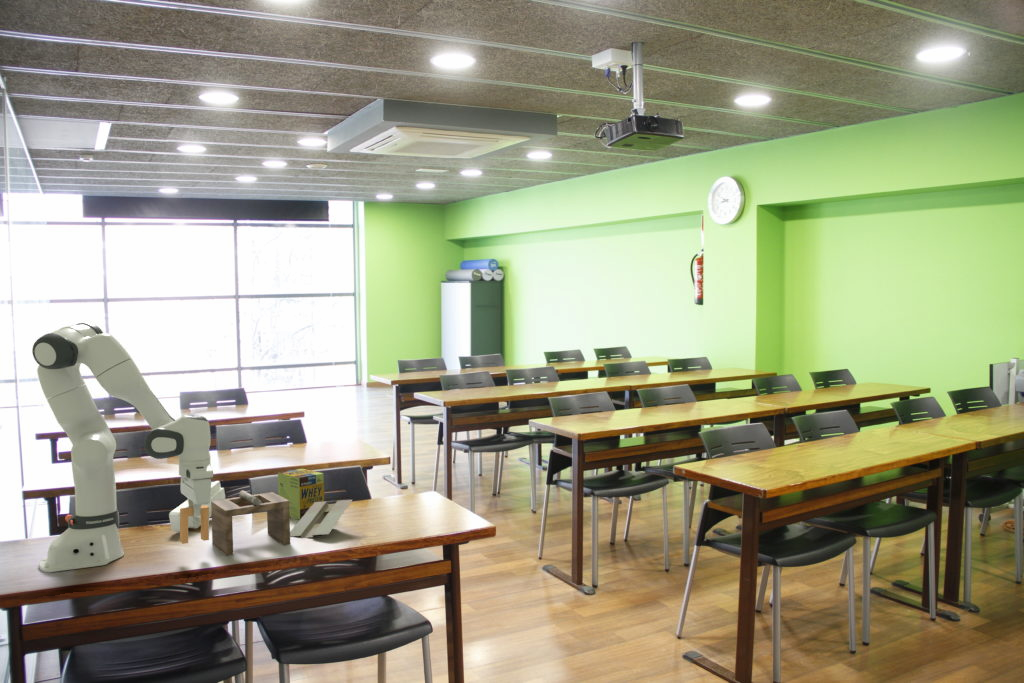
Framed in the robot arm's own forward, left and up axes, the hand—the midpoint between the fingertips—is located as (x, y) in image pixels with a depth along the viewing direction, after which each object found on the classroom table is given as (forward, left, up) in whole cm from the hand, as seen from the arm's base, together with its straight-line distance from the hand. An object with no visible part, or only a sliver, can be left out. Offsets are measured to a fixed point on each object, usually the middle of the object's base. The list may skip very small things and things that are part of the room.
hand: (194, 513), depth 234 cm
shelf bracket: (+12, +42, -14) cm, 46 cm away
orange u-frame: (0, 0, -8) cm, 8 cm away
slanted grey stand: (+41, +3, -14) cm, 44 cm away
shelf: (+18, +6, -14) cm, 24 cm away
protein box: (+45, +33, -14) cm, 58 cm away
